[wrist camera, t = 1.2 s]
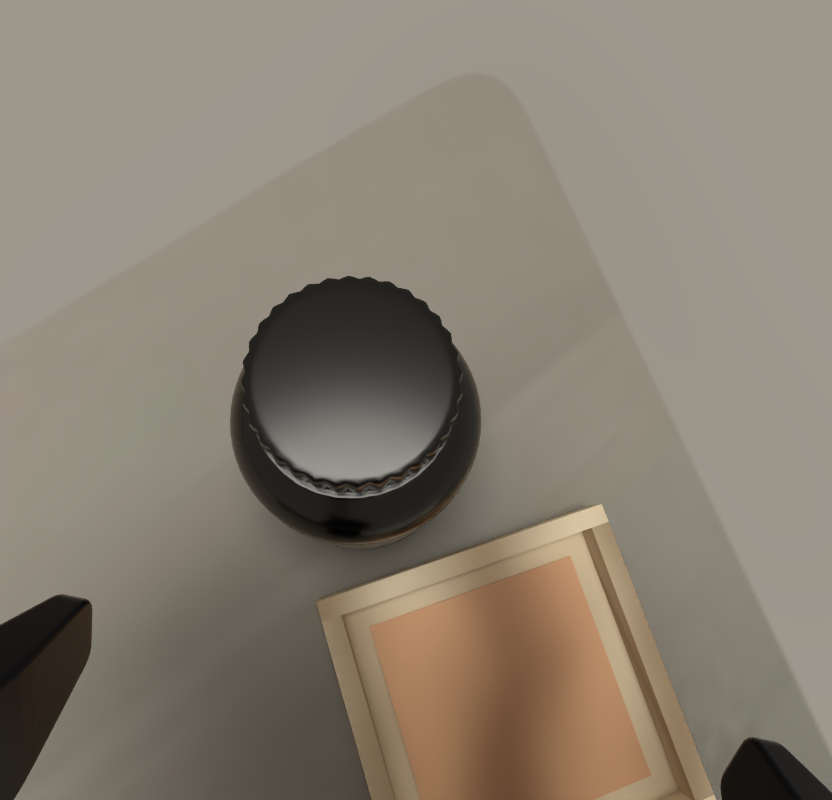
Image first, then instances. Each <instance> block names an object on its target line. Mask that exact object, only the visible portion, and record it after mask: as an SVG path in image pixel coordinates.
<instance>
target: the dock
mask: <svg viewBox="0 0 832 800" xmlns="http://www.w3.org/2000/svg"><path fill="white" fill-rule="evenodd" d="M316 604H317V607H318V611H319V615H320V618H321V622H322V625H323V629H324V632H325V636H326V639H327V643H328V647H329V650H330V654H331V657H332V661H333V664H334V668H335V671H336V675H337V679H338V682H339V686H340V689H341V693H342V696H343V700H344V703H345V707H346V711H347V714H348V718H349V721H350V725H351V728H352V732H353V735H354V739H355V743H356V746H357V750H358V753H359V757H360V760H361V764H362V767H363V771H364V775H365V778H366V782H367V785H368V789H369V792H370V796H371V799H372V800H716V798H715V796H714V793H713V790H712V788H711V785H710V783H709V780H708V778H707V775H706V772H705V770H704V767H703V765H702V762H701V759H700V757H699V754H698V752H697V749H696V746H695V744H694V741H693V739H692V736H691V734H690V731H689V728H688V726H687V723H686V721H685V718H684V715H683V713H682V710H681V708H680V705H679V703H678V700H677V697H676V695H675V692H674V690H673V687H672V684H671V682H670V679H669V677H668V674H667V672H666V669H665V666H664V664H663V661H662V659H661V656H660V653H659V651H658V648H657V646H656V643H655V641H654V638H653V635H652V633H651V630H650V628H649V625H648V622H647V620H646V617H645V615H644V612H643V610H642V607H641V604H640V602H639V599H638V597H637V594H636V591H635V589H634V586H633V584H632V581H631V578H630V576H629V573H628V571H627V568H626V566H625V563H624V560H623V558H622V555H621V553H620V550H619V547H618V545H617V542H616V540H615V537H614V535H613V532H612V529H611V527H610V524H609V522H608V519H607V516H606V514H605V511H604V509H603V506H602V504H598V505H593V506H589V507H584V508H581V509H578V510H576V511H573V512H570V513H567V514H564V515H561V516H558V517H555V518H552V519H549V520H546V521H544V522H541V523H538V524H535V525H532V526H529V527H526V528H523V529H520V530H517V531H514V532H512V533H509V534H506V535H503V536H500V537H497V538H494V539H491V540H488V541H485V542H482V543H480V544H477V545H474V546H471V547H468V548H465V549H462V550H459V551H456V552H453V553H450V554H448V555H445V556H442V557H439V558H436V559H433V560H430V561H427V562H424V563H421V564H418V565H415V566H413V567H410V568H407V569H404V570H401V571H398V572H395V573H392V574H389V575H386V576H383V577H381V578H378V579H375V580H372V581H369V582H366V583H363V584H360V585H357V586H354V587H351V588H349V589H346V590H343V591H340V592H337V593H334V594H331V595H328V596H325V597H322V598H320V599H319V600H318V601H317V602H316Z"/></svg>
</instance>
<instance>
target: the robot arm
mask: <svg viewBox="0 0 832 800" xmlns="http://www.w3.org/2000/svg"><path fill="white" fill-rule="evenodd" d="M91 637H92V605H91V603H90V601H88V600H87V599H83V598H78V597H73V596H69V595H64V594H61V595H56V596H53V597H51V598H49V599H47V600H45V601H44V602H42V603H40V604H38V605H36V606H34V607H32V608H31V609H29V610H27V611H25V612H23V613H21V614H19V615H18V616H16V617H14V618H12V619H10V620H8V621H6V622H5V623H3V624H1V625H0V800H14V798H15V797H16V795H17V793H18V792H19V790H20V789H21V787H22V785H23V784H24V782H25V780H26V778H27V776H28V775H29V773H30V771H31V769H32V767H33V765H34V764H35V762H36V760H37V758H38V756H39V754H40V752H41V750H42V748H43V746H44V744H45V742H46V740H47V739H48V737H49V735H50V733H51V731H52V729H53V727H54V725H55V723H56V721H57V719H58V717H59V715H60V713H61V711H62V710H63V708H64V706H65V704H66V702H67V700H68V698H69V696H70V694H71V692H72V690H73V688H74V686H75V684H76V682H77V681H78V679H79V677H80V675H81V673H82V671H83V669H84V667H85V665H86V663H87V660H88V658H89V654H90V650H91ZM721 796H722V800H832V792H830V791H829V790H828V789H827V788H826V787H825V786H824V785H823V784H822V783H821V782H820V781H819V780H818V779H817V778H816V777H815V776H814V775H813V774H812V773H811V772H810V771H809V770H808V769H807V768H806V767H805V766H804V765H802V764H801V763H800V762H799V761H798V760H797V759H796V758H795V757H794V756H793V755H792V754H791V753H790V752H789V751H788V750H787V749H786V748H785V747H784V746H782V745H781V744H779V743H777V742H774V741H769V740H764V739H759V738H754V737H749V738H748V739H746V740H744V741H743V743H742V744H741V746H740V747H739V749H738V750H737V752H736V754H735V755H734V757H733V758H732V760H731V762H730V763H729V765H728V767H727V768H726V770H725V771H724V773H723V775H722V779H721Z"/></svg>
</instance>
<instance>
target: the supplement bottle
mask: <svg viewBox="0 0 832 800" xmlns="http://www.w3.org/2000/svg"><path fill="white" fill-rule="evenodd" d="M243 366H244V367H243V369H242V371H241V373H240V376H239V378H238V381H237V384H236V387H235V390H234V394H233V399H232V405H231V415H230V431H231V440H232V446H233V450H234V454H235V458H236V461H237V463H238V466H239V469H240V471H241V473H242V475H243V477H244V479H245V481H246V483H247V484H248V486H249V487H250V489H251V490H252V492H253V493H254V494H255V496H256V497H257V498H258V500H259V501H260V502H261V503H262V504H263V505H264V506H265V507H266V508H267V509H268V510H269V511H270V512H271V513H272V514H273V515H275V516H276V517H277V518H278V519H279V520H281V521H282V522H283V523H285V524H286V525H288V526H289V527H291V528H293V529H295V530H297V531H298V532H300V533H302V534H305V535H307V536H310V537H312V538H314V539H317V540H320V541H322V542H325V543H328V544H331V545H334V546H337V547H342V548H348V549H371V548H378V547H382V546H386V545H389V544H392V543H395V542H397V541H399V540H401V539H403V538H405V537H407V536H409V535H410V534H412V533H413V532H414V531H416V530H417V529H419V528H420V527H422V526H423V525H424V524H426V523H427V522H429V521H430V520H431V519H433V518H434V517H435V516H436V515H437V514H438V513H440V512H441V511H442V510H443V509H444V508H445V507H446V506H447V505H448V504H449V502H450V501H451V500H452V499H453V498H454V496H455V495H456V494H457V492H458V491H459V489H460V488H461V486H462V485H463V483H464V481H465V480H466V478H467V476H468V474H469V472H470V470H471V468H472V465H473V462H474V459H475V457H476V453H477V449H478V445H479V439H480V433H481V408H480V401H479V396H478V392H477V388H476V384H475V382H474V379H473V376H472V373H471V371H470V369H469V367H468V365H467V363H466V361H465V360H464V358H463V356H462V355H461V353H460V352H459V350H458V349H457V348H456V346H455V345H454V344H453V343H452V338H451V333H450V332H449V331H448V330H447V329H446V328H444V327H443V326H442V322H441V319H440V317H439V316H438V315H437V314H435V313H433V312H431V311H430V310H429V308H428V305H427V304H426V302H424V301H422V300H420V299H417V298H415V297H414V296H413V295H412V293H411V292H410V291H409V290H406V289H402V288H397V287H396V286H395V285H394V284H392V283H391V282H387V281H384V282H378V281H377V280H375V279H373V278H371V277H365V278H362V279H358V278H355V277H351V276H347V277H344V278H342V279H339V280H338V279H330V278H328V279H326V280H324V281H322V282H321V283H319V284H309V285H307V286H306V287H304V288H303V290H301V291H300V292H296V293H292V294H289V295H288V297H287V298H286V299H285V301H284V302H283V303H281V304H279V305H277V306H275V307H273V308H272V310H271V313H270V315H269V317H267V318H266V319H264V320H263V321H262V322H260V323H259V327H258V332H257V334H256V335H255V336H254V337H253V338H252V339H251V340H250V341H249V353H248V354H247V355H246V357H245V359H244V360H243Z"/></svg>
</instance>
